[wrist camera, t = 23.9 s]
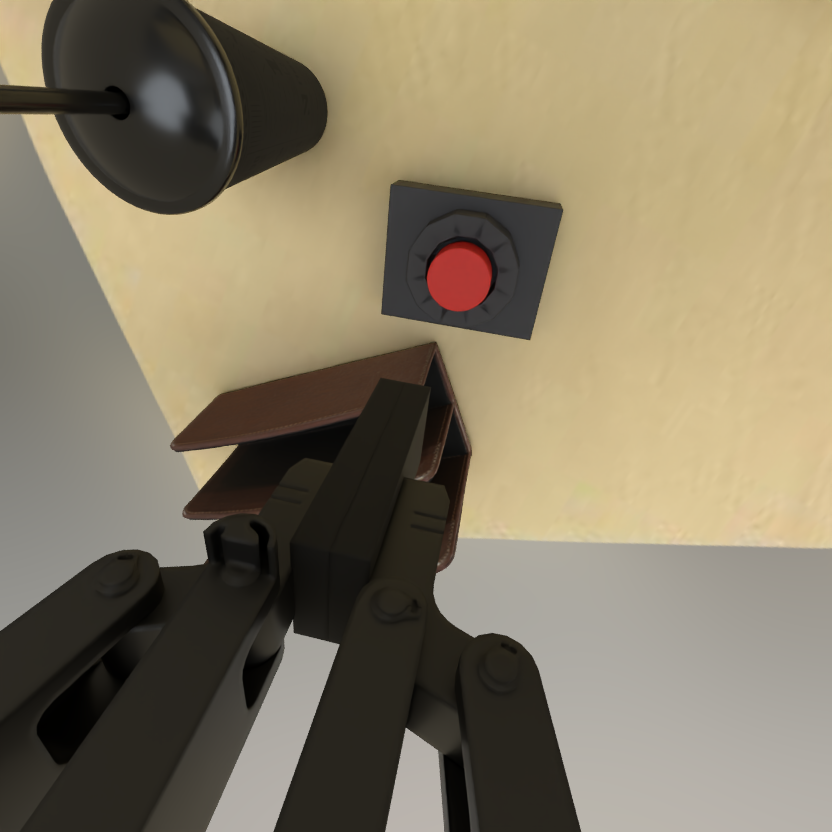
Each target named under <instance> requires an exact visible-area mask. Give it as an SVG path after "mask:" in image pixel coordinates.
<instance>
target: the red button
mask: <svg viewBox="0 0 832 832" xmlns="http://www.w3.org/2000/svg"><path fill="white" fill-rule="evenodd" d="M491 279H492V265H491V262H490V259H489V257H488V256H487V254H486V253H485V252H484V251H483V250H482V249H481V248H480V247H479V246H477V245H475V244H473V243H470V242H464V241H460V242H454V243H451V244H449V245H447V246H445V247H444V248H442V249H441V250H440V251H439V252H438V254H437V255H436V257H435V258H434V260H433V261H432V263H431V265H430V267H429V270H428V274H427V285H428V289H429V292H430V294H431V296H432V297H433V299H434V300H435V301H436V302H437V303H438V304H439V305H441V306H442V307H444V308H446V309H448V310H452V311H467V310H470V309H472V308H474V307H476V306H477V305H479V304H480V303H481V302H482V301H483V300H484V299H485V297H486V295H487V294H488V291H489V288H490V284H491Z"/></svg>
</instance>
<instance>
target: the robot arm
mask: <svg viewBox="0 0 832 832" xmlns="http://www.w3.org/2000/svg"><path fill="white" fill-rule="evenodd" d="M430 389H431V387H428V386H423V385H417V384H412V383H407V382H401V381H396V380H391V379H386V378H380V380H379V381H378V383H377V385H376V387H375V389H374V390H373V392H372V394H371V396H370V398H369V400H368V401H367V403H366V405H365V407H364V409H363V410H362V412H361V414H360V416H359V418H358V419H357V421H356V423H355V425H354V427H353V428H352V430H351V432H350V434H349V436H348V437H347V439H346V441H345V443H344V445H343V446H342V448H341V450H340V452H339V454H338V456H337V457H336V459H335V461H334V463H328V462H323V461H319V460H314V459H309V458H304V459H303V460H301V461H300V462H298V463H297V464H295V465H294V466H292V467H291V468H289V469H288V471H287V472H286V474H285V475H284V477H283V478H282V480H281V481H280V483H279V486H277V487H276V489H275V490H274V492H273V493H272V495H271V498H269V499H268V501H267V502H266V504H265V505H264V507H263V508H262V510H261V511H260V513H259V514H258V515H257V514H248V513H239V514H234V515H229V516H226V517H223V518H221V519H219V520H217V521H215V522H213V523H212V524H211V525H210V526H209V527H208V528H207V529H206V530H204V531H203V533H204V539H205V544H206V550H207V555H208V561H209V563H206V564H202V565H195V566H180V567H160V568H159V564H158V560H157V559H156V558H155V557H153V556H152V555H151V554H150V553H148V552H144V551H141V550H122V551H118V552H115V553H112V554H108V555H106V556H104V557H102V558H101V559H99V560H97V561H95V562H93V563H92V564H90V565H89V566H88V567H86V568H85V569H84V570H82V571H81V572H79V573H78V574H77V575H75V576H74V577H73V578H71V579H70V580H69V581H67V582H66V583H65V584H63V585H62V586H61V587H59V588H58V589H57V590H55V591H54V592H52V593H51V594H50V595H48V596H47V597H46V598H44V599H43V600H42V601H40V602H39V603H38V604H36V605H35V606H34V607H32V608H31V609H30V610H28V611H27V612H25V613H24V614H23V615H22V616H20V617H19V618H17V619H16V620H15V621H13V622H12V623H11V624H9V625H8V626H7V627H5V628H4V629H3V630H1V631H0V832H205V831H206V829H207V827H208V825H209V822H210V820H211V818H212V816H213V813H214V811H215V809H216V807H217V805H218V802H219V800H220V798H221V796H222V793H223V791H224V789H225V787H226V784H227V782H228V780H229V777H230V775H231V773H232V771H233V769H234V766H235V764H236V762H237V760H238V757H239V755H240V753H241V751H242V748H243V746H244V744H245V741H246V739H247V737H248V735H249V732H250V730H251V728H252V726H253V723H254V721H255V719H256V717H257V715H258V712H259V710H260V708H261V706H262V703H263V701H264V699H265V697H266V694H267V692H268V690H269V688H270V685H271V683H272V681H273V678H274V676H275V674H276V672H277V670H278V667H279V665H280V663H281V660H282V657H283V653H284V637H285V635H286V633H287V631H288V628H289V626H290V624H291V622H292V620H293V626H294V633H297V634H300V635H305V636H309V637H313V638H317V639H321V640H325V641H329V642H333V643H337V644H340V645H339V648H338V651H337V654H336V657H335V659H334V662H333V665H332V668H331V671H330V674H329V677H328V679H327V682H326V685H325V688H324V690H323V693H322V696H321V699H320V702H319V705H318V707H317V710H316V713H315V716H314V719H313V722H312V724H311V727H310V730H309V733H308V736H307V739H306V741H305V744H304V747H303V750H302V753H301V756H300V758H299V761H298V764H297V767H296V770H295V772H294V776H293V778H292V781H291V784H290V787H289V789H288V792H287V795H286V798H285V801H284V804H283V807H282V809H281V812H280V815H279V818H278V820H277V823H276V827H275V829H274V832H385V830H386V824H387V820H388V814H389V809H390V804H391V799H392V794H393V789H394V784H395V779H396V774H397V769H398V764H399V759H400V754H401V749H402V744H403V738H404V733H405V728H408V729H409V730H410V731H412V732H413V733H415V734H416V735H417V736H419V737H420V738H422V739H423V740H424V741H426V742H427V743H429V744H430V745H432V746H433V747H434V748H436V749H437V750H438V753H439V767H440V780H441V792H442V805H443V818H444V832H581V829H580V825H579V822H578V818H577V815H576V810H575V806H574V803H573V799H572V795H571V791H570V787H569V784H568V780H567V776H566V772H565V769H564V765H563V761H562V757H561V753H560V749H559V746H558V742H557V738H556V734H555V730H554V727H553V723H552V719H551V715H550V711H549V708H548V704H547V700H546V696H545V692H544V689H543V685H542V681H541V677H540V674H539V670H538V668H537V666H536V664H535V661H534V659H533V657H532V655H531V654H530V653H529V652H528V651H527V650H526V649H525V648H524V647H523V646H522V645H521V644H520V643H518V642H517V641H515V640H513V639H511V638H509V637H508V636H505V635H500V634H494V633H490V634H484V635H478V636H477V637H475V638H474V637H472V636H470V635H469V634H467V633H465V632H463V631H462V630H460V629H458V628H457V627H455V626H454V625H453V624H451V623H450V622H449V621H447V619H446V618H445V617H444V616H443V615H442V614H441V613H440V611H439V609H438V607H437V605H436V603H435V599H434V595H433V588H434V580H435V576H436V570H437V565H438V560H439V555H440V550H441V545H442V540H443V534H444V529H445V524H446V519H447V514H448V509H449V504H450V500H449V497H448V495H447V492H446V489H445V486H444V485H440V484H435V483H430V482H425V481H421V480H416V479H415V477H416V473H417V470H418V467H419V464H420V459H421V452H422V445H423V438H424V431H425V424H426V417H427V410H428V403H429V396H430Z"/></svg>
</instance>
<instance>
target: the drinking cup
mask: <svg viewBox="0 0 832 832" xmlns="http://www.w3.org/2000/svg"><path fill="white" fill-rule="evenodd" d="M42 67H43V75H44V81H45V86H46V87H31V86H15V85H0V114H54V115H55V117H56V120H57V122H58V124H59V126H60V128H61V130H62V132H63V134H64V136H65V138H66V140H67V141H68V143H69V145H70V146H71V148H72V149H73V151H74V152H75V154H76V155H77V157H78V158H79V159H80V161H81V162H82V163H83V165H84V166H85V167H86V168H87V169H88V170H89V172H90V173H91V174H92V175H93V176H94V177H95V178H96V179H97V180H98V181H99V182H100V183H101V184H102V185H104V186H105V187H106V188H107V189H108V190H110V191H111V192H112V193H114V194H115V195H116V196H118V197H119V198H121V199H123V200H124V201H126V202H128V203H130V204H132V205H134V206H136V207H138V208H141V209H143V210H146V211H150V212H153V213H158V214H166V215H178V214H185V213H189V212H192V211H196V210H198V209H201V208H203V207H205V206H207V205H208V204H210V203H211V202H213V201H214V200H215V199H216V198H217V197H219V195H220V194H221V193H222V192H223V191H224V190H225V189H227V188H229V187H231V186H233V185H235V184H237V183H239V182H241V181H244V180H246V179H248V178H250V177H252V176H254V175H256V174H259V173H261V172H263V171H265V170H267V169H269V168H271V167H274V166H276V165H278V164H280V163H282V162H284V161H286V160H289V159H291V158H293V157H295V156H297V155H299V154H301V153H304V152H306V151H308V150H309V149H311V148H312V147H314V146H315V145H316V144H317V143H318V141H319V140H320V138H321V137H322V135H323V133H324V130H325V127H326V122H327V103H326V98H325V95H324V92H323V89H322V87H321V85H320V83H319V81H318V80H317V78H316V77H315V76H314V74H313V73H312V72H311V71H310V70H309V69H308V68H307V67H305V66H304V65H303V64H301V63H299V62H297V61H295V60H294V59H292V58H290V57H288V56H286V55H284V54H282V53H280V52H278V51H276V50H274V49H273V48H271V47H269V46H267V45H265V44H263V43H261V42H259V41H257V40H255V39H254V38H252V37H250V36H248V35H246V34H244V33H242V32H240V31H238V30H236V29H234V28H233V27H231V26H229V25H227V24H225V23H223V22H221V21H219V20H217V19H215V18H213V17H212V16H210V15H208V14H206V13H204V12H202V11H200V10H198V9H196V8H194V7H193V5H191V4H190V3H189V2H188V1H187V0H53V1H52V3H51V5H50V8H49V10H48V13H47V16H46V20H45V24H44V29H43V35H42Z"/></svg>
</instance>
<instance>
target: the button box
mask: <svg viewBox="0 0 832 832" xmlns="http://www.w3.org/2000/svg"><path fill="white" fill-rule="evenodd" d="M562 213H563V208H562V206H561V204H559V203H552V202H546V201H539V200H532V199H525V198H518V197H511V196H504V195H497V194H491V193H484V192H477V191H470V190H463V189H456V188H449V187H443V186H436V185H429V184H422V183H415V182H408V181H401V180H399V181H397V182H395V183H393V184H391V187H390V201H389V214H388V228H387V242H386V256H385V269H384V283H383V297H382V311H381V314H384V315H389V316H395V317H401V318H407V319H412V320H418V321H424V322H429V323H435V324H441V325H447V326H452V327H458V328H464V329H469V330H475V331H481V332H486V333H492V334H498V335H504V336H509V337H515V338H521V339H526V340H530V338H531V334H532V330H533V327H534V323H535V319H536V315H537V311H538V307H539V303H540V299H541V295H542V291H543V287H544V283H545V279H546V275H547V272H548V268H549V264H550V260H551V256H552V252H553V248H554V244H555V240H556V236H557V232H558V228H559V224H560V221H561V217H562ZM460 241H464V242H470V243H473V244H475V245H477V246H479V247H480V248H481V249H482V250H483V251H484V252H485V253H486V254H487V256H488V257H489V259H490V262H491V265H492V279H491V284H490V288H489V291H488V294H487V295H486V297H485V299H484V300H483V301H482V302H481V303H480V304H479V305H477V306H476V307H474V308H472V309H470V310H467V311H452V310H448V309H446V308H444V307H442V306H441V305H439V304H438V303H437V302H436V301H435V300H434V299H433V297H432V296H431V294H430V292H429V289H428V285H427V274H428V270H429V267H430V265H431V263H432V261H433V260H434V258H435V257H436V255H437V254H438V252H439V251H440V250H441V249H442V248H444V247H445V246H447V245H449V244H451V243H454V242H460Z"/></svg>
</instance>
